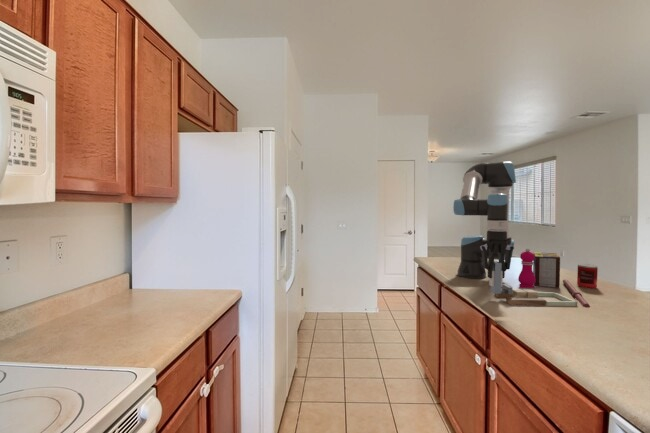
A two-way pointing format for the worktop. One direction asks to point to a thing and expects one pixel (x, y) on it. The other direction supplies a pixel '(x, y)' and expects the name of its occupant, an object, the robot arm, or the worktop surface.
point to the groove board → (521, 300)
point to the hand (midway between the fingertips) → (495, 285)
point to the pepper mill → (527, 270)
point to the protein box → (546, 269)
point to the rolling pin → (576, 293)
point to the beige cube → (518, 293)
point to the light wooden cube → (531, 293)
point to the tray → (565, 301)
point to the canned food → (587, 276)
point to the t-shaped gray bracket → (499, 281)
